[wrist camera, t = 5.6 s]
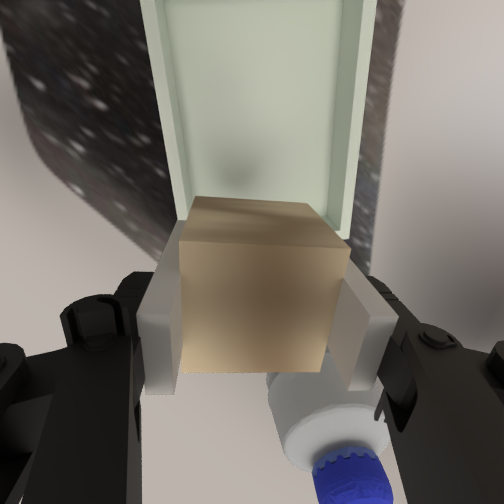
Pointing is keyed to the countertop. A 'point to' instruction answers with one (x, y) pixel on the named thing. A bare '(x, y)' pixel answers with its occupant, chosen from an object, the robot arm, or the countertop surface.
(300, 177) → the tote
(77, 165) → the countertop surface
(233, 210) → the cube
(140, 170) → the countertop surface
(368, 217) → the countertop surface
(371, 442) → the bottle
